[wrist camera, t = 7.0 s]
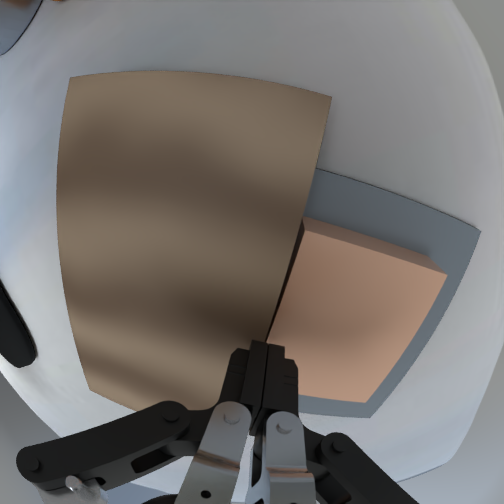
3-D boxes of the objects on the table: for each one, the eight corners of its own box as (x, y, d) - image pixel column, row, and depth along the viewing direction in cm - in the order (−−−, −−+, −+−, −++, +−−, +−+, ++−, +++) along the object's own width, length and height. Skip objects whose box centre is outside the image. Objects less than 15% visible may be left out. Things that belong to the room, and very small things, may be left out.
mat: (305, 165, 13) (306, 166, 13) (476, 228, 13) (481, 231, 12) (239, 395, 20) (238, 401, 20) (369, 413, 20) (370, 417, 19)
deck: (113, 86, 12) (70, 77, 9) (319, 110, 12) (331, 97, 8) (110, 360, 21) (89, 389, 17) (237, 402, 21) (229, 440, 17)
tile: (301, 215, 14) (305, 230, 11) (427, 256, 13) (447, 275, 11) (254, 357, 17) (250, 384, 15) (359, 377, 17) (365, 402, 15)
